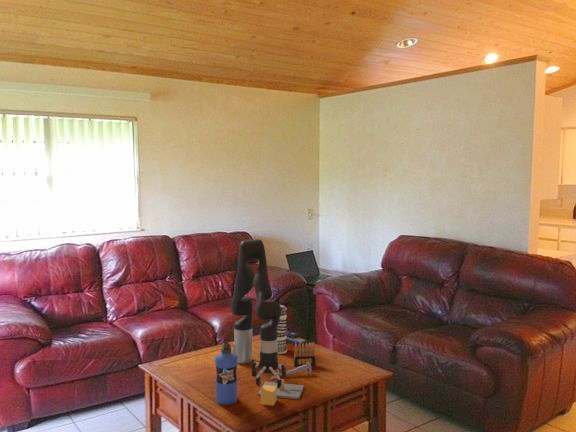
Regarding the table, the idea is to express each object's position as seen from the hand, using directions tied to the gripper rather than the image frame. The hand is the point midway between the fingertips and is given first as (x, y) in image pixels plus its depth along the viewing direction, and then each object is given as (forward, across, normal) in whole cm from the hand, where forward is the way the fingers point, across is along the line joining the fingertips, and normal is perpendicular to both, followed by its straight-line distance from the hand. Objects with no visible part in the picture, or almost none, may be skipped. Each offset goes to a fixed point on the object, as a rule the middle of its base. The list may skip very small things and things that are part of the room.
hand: (268, 386), depth 209 cm
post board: (+7, +3, +11) cm, 13 cm away
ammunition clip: (+7, +8, +42) cm, 44 cm away
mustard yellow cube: (+7, 0, 0) cm, 7 cm away
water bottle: (+7, -18, -2) cm, 19 cm away
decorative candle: (+6, -9, +59) cm, 60 cm away
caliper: (+7, +4, +28) cm, 29 cm away
